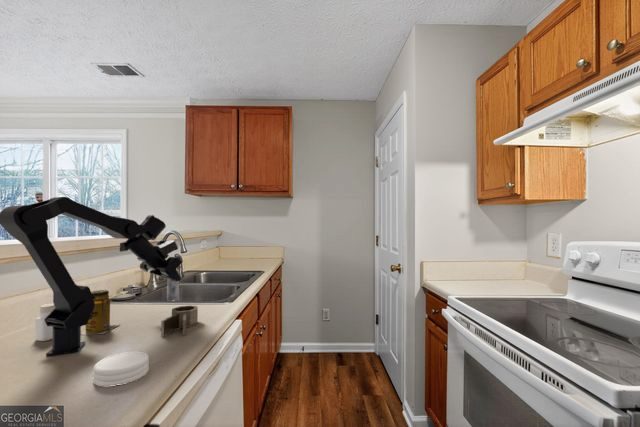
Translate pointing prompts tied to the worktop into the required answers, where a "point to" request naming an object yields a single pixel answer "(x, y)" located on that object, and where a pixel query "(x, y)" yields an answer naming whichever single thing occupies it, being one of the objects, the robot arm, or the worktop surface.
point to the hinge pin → (172, 289)
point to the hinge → (180, 319)
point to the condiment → (99, 314)
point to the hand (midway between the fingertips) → (176, 279)
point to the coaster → (121, 368)
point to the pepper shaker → (44, 324)
